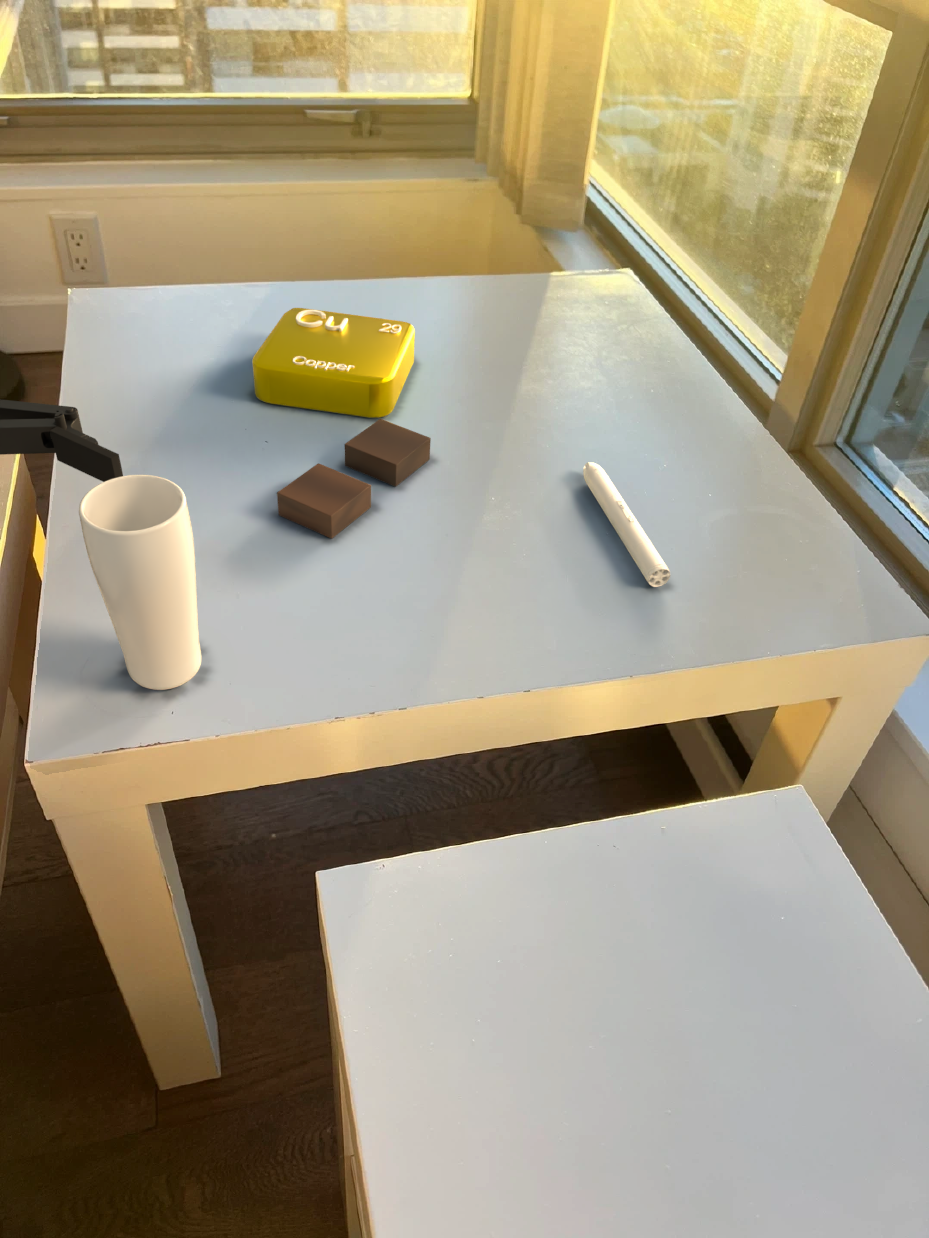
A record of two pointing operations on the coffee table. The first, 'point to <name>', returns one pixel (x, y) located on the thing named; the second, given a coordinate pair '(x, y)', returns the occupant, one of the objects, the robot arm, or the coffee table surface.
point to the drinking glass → (146, 575)
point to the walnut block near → (324, 500)
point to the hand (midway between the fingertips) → (46, 514)
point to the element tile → (334, 362)
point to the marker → (626, 526)
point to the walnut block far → (387, 452)
